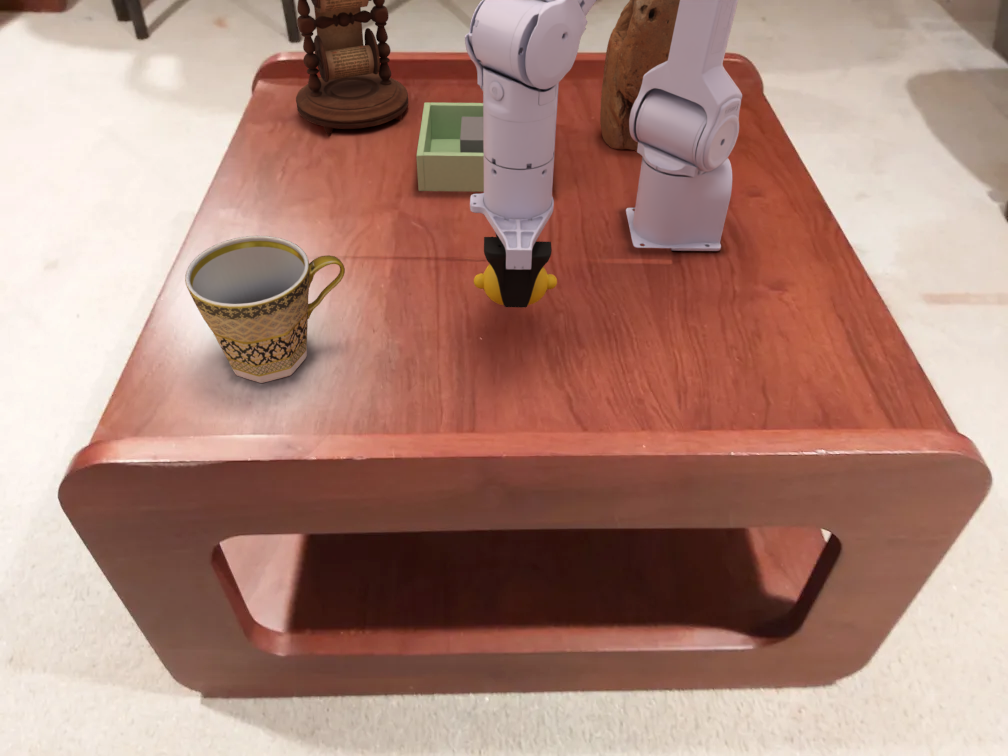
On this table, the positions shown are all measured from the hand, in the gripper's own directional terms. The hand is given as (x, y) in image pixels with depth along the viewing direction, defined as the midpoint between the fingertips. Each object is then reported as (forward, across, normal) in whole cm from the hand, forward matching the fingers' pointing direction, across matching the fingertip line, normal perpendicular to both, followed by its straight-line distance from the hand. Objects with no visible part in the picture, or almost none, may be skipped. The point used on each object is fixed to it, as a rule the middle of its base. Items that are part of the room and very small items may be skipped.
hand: (515, 288), depth 75 cm
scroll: (+5, -45, -21) cm, 50 cm away
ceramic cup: (+5, +4, -21) cm, 22 cm away
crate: (+5, -31, -3) cm, 31 cm away
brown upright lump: (+5, -38, +17) cm, 42 cm away
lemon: (+1, 0, 0) cm, 1 cm away
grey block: (+4, -31, -3) cm, 31 cm away
